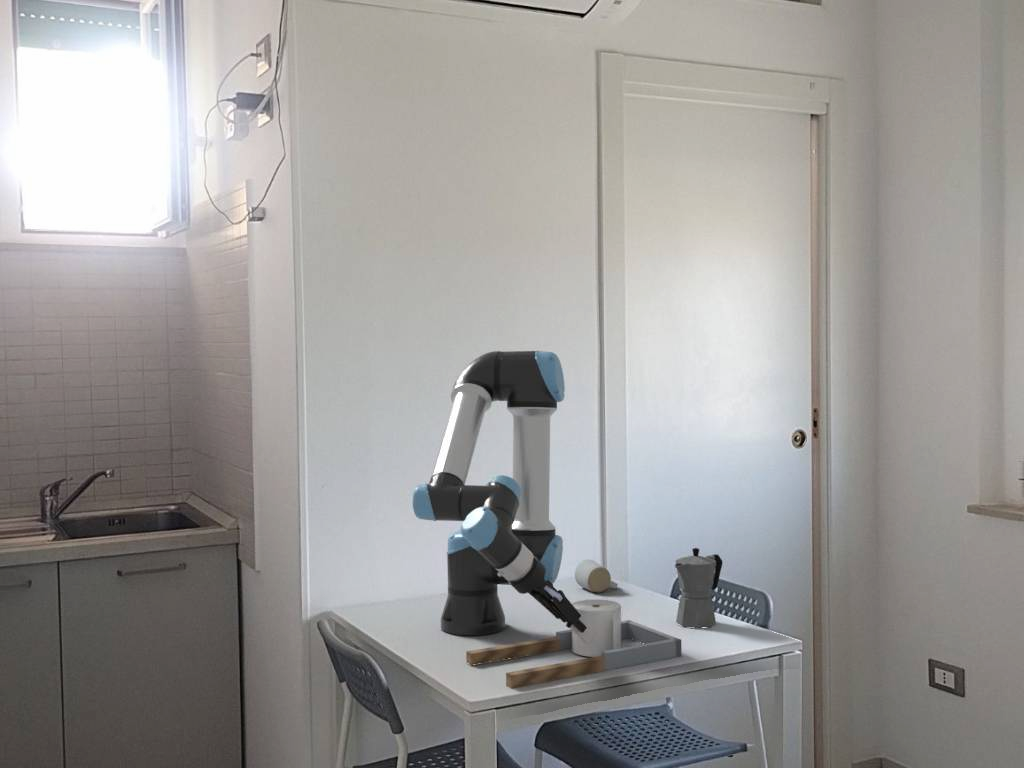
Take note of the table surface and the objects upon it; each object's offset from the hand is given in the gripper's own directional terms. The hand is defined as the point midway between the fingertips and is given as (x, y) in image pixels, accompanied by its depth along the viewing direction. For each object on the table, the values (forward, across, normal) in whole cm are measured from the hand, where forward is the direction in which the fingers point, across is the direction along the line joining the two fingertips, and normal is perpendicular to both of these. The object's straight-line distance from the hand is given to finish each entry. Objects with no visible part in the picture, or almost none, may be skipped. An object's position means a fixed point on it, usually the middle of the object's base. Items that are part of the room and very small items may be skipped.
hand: (590, 638), depth 234 cm
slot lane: (-6, -1, -12) cm, 14 cm away
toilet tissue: (+6, -3, 0) cm, 7 cm away
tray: (+8, -1, +2) cm, 8 cm away
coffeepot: (+30, -11, +24) cm, 39 cm away
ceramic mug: (+28, -52, +23) cm, 63 cm away
